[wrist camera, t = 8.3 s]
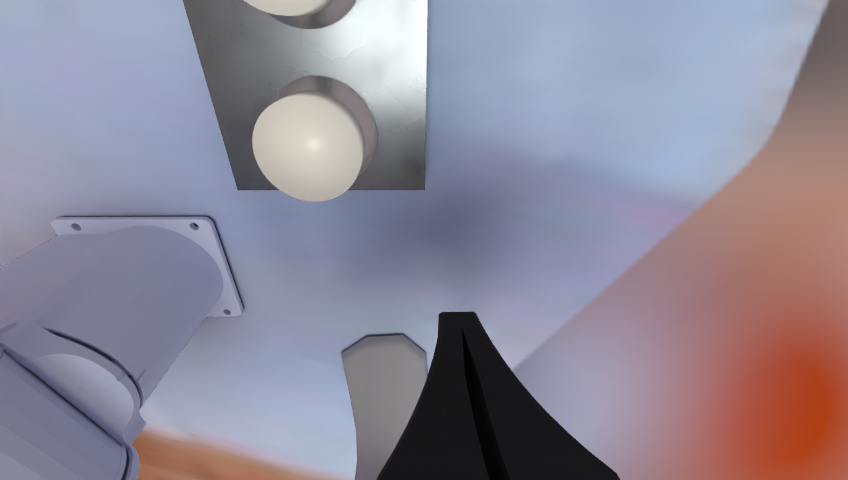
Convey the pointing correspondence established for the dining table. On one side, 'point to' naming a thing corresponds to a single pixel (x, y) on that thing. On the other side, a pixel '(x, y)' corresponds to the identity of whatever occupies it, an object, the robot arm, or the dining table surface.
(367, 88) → the mount
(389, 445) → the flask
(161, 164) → the dining table surface
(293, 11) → the knob middle
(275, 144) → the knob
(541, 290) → the dining table surface
